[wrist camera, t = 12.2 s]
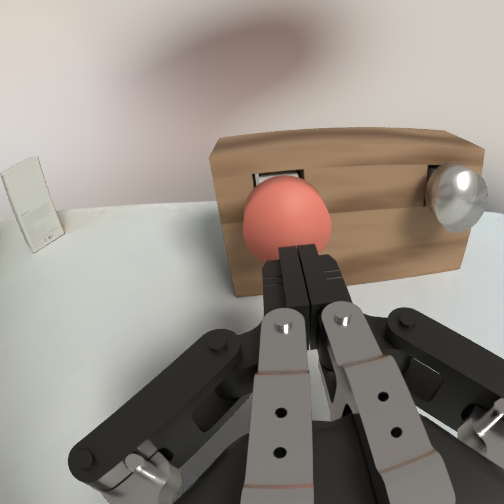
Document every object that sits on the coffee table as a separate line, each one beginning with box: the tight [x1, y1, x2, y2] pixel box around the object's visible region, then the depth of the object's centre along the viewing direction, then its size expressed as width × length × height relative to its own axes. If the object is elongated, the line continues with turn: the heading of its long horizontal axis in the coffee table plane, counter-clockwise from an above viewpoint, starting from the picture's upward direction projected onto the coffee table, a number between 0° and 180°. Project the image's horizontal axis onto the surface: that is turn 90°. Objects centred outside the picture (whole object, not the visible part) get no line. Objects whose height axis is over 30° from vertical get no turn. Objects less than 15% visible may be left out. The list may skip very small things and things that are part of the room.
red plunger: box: [243, 170, 331, 263], centre depth 20 cm, size 12×4×4 cm, turn 0°
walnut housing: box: [209, 127, 485, 297], centre depth 22 cm, size 6×20×11 cm, turn 90°
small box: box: [1, 156, 64, 253], centre depth 35 cm, size 8×6×13 cm
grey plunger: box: [424, 161, 488, 233], centre depth 20 cm, size 12×4×4 cm, turn 0°
